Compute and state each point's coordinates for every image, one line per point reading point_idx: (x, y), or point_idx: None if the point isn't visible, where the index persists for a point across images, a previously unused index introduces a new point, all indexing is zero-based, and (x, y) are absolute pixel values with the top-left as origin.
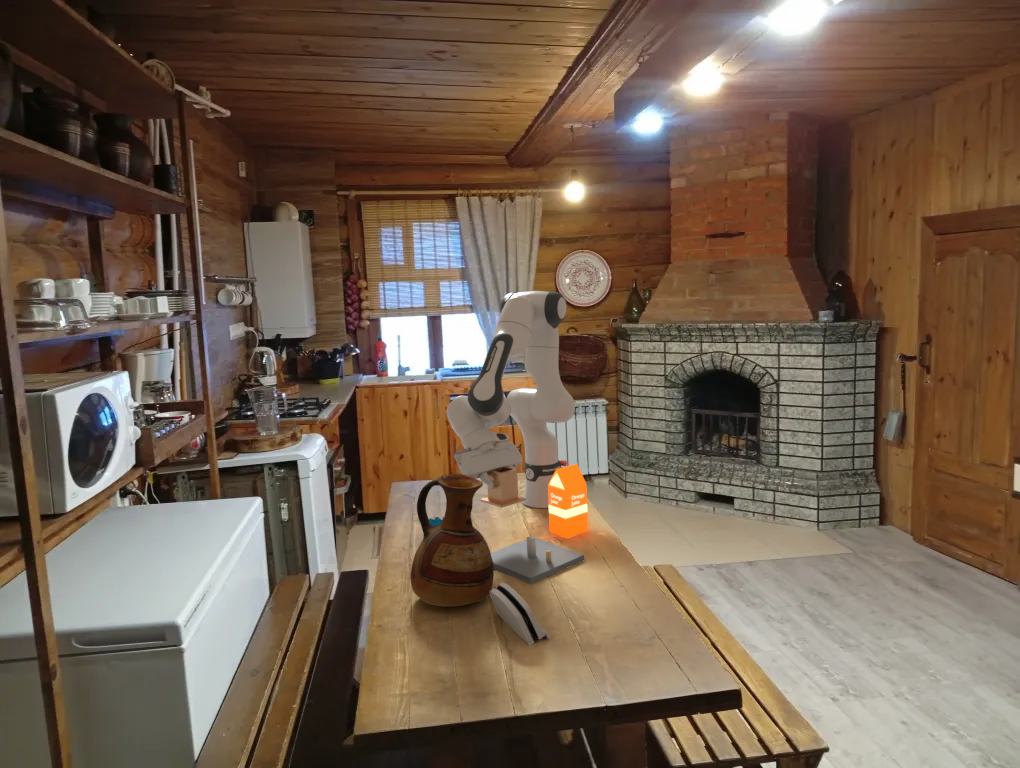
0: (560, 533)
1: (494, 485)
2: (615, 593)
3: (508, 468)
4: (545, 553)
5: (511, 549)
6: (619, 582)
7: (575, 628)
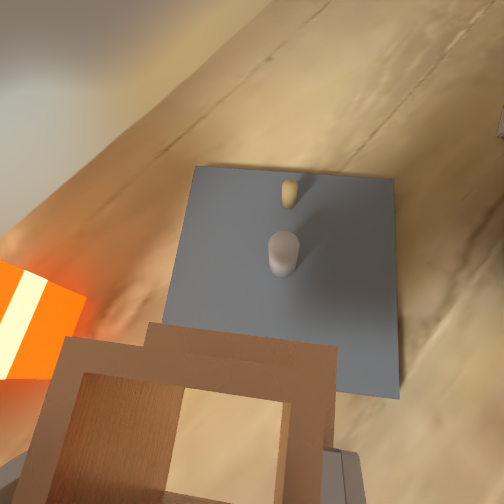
0: (71, 322)
1: (336, 449)
2: (304, 51)
3: (56, 482)
4: (245, 246)
5: None
6: (258, 68)
7: (460, 29)
